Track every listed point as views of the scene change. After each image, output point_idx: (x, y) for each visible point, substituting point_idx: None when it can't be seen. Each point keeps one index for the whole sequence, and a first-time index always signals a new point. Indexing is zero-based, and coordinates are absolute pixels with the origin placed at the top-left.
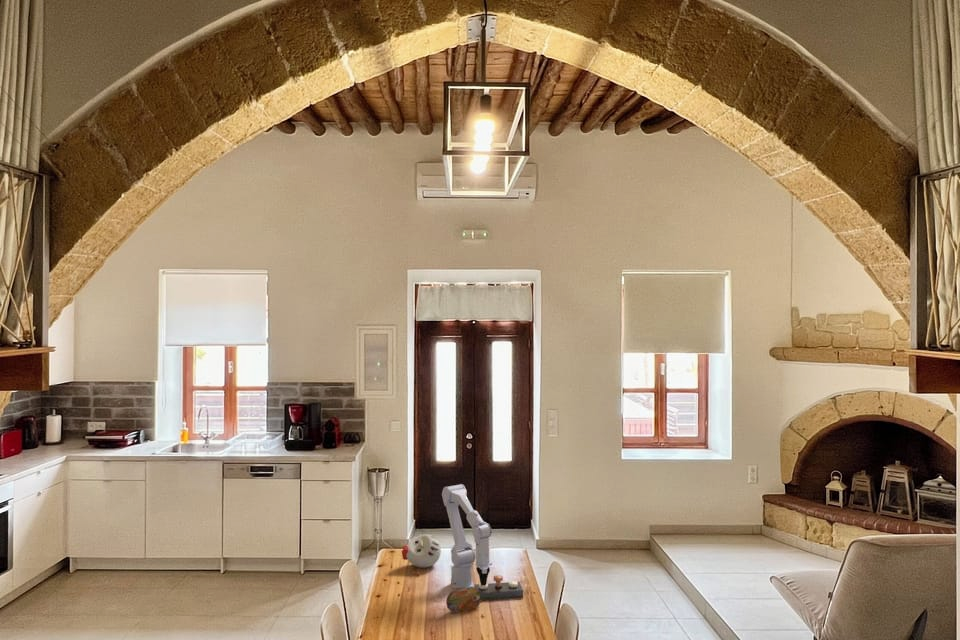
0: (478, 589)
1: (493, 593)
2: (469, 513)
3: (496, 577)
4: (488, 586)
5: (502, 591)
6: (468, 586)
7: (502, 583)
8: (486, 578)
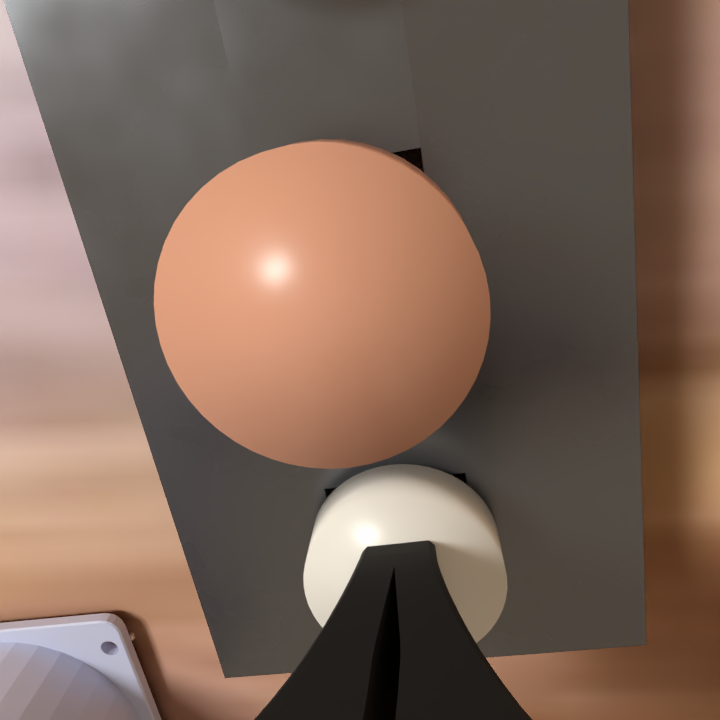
0: None
1: (630, 336)
2: None
3: (385, 374)
4: None
5: (626, 132)
6: (122, 680)
7: (97, 157)
8: (475, 650)
